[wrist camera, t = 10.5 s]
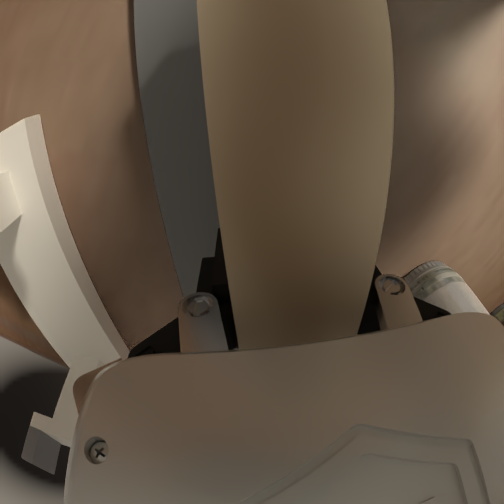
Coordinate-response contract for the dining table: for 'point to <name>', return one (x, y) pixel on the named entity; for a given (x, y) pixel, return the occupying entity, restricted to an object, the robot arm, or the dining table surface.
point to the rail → (298, 158)
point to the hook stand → (49, 281)
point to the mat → (177, 130)
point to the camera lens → (443, 288)
